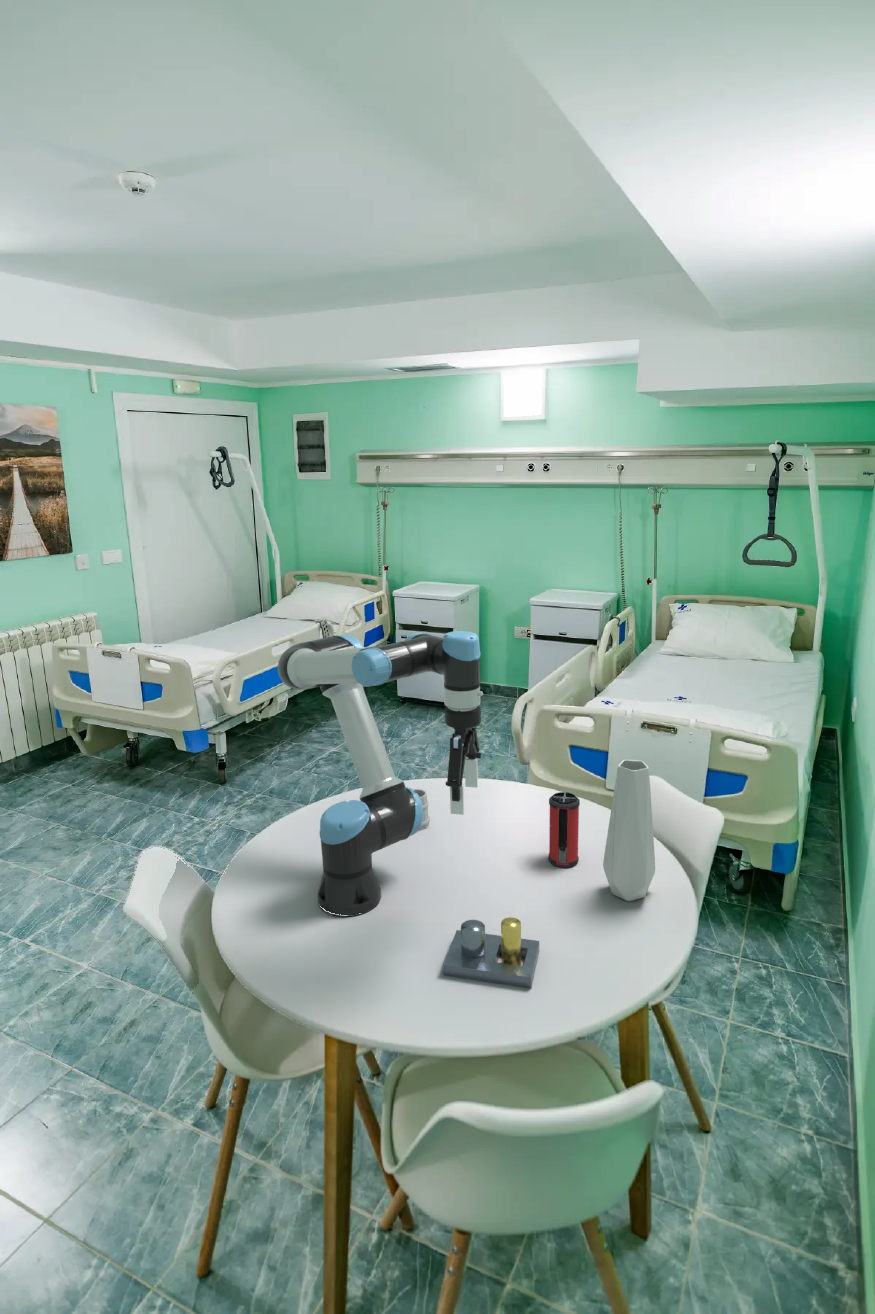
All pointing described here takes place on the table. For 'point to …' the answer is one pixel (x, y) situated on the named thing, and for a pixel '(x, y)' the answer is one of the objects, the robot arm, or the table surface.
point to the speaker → (563, 829)
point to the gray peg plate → (488, 957)
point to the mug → (424, 801)
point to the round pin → (511, 941)
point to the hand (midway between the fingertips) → (464, 799)
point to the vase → (630, 833)
